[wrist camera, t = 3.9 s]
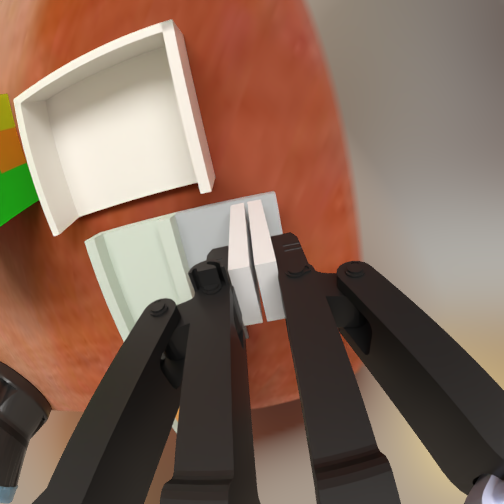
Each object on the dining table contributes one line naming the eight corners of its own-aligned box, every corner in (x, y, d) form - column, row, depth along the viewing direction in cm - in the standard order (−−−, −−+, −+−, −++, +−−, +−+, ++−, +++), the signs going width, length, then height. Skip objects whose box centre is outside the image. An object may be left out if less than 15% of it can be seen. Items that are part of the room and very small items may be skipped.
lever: (308, 411, 23) (313, 433, 20) (186, 426, 23) (182, 448, 21) (273, 191, 17) (278, 196, 14) (99, 232, 17) (79, 244, 15)
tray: (76, 216, 18) (53, 236, 15) (42, 96, 14) (13, 99, 11) (215, 176, 18) (211, 191, 15) (183, 35, 13) (171, 19, 10)
